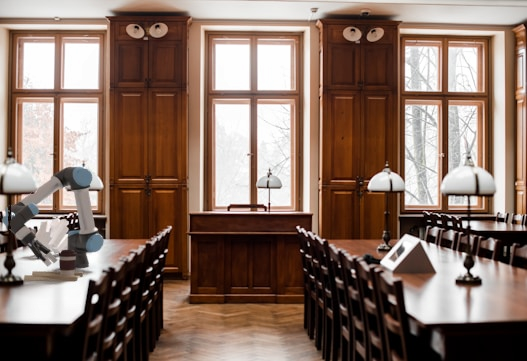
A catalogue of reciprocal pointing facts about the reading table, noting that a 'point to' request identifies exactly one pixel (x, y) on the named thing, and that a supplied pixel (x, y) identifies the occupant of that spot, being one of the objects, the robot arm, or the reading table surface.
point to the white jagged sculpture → (53, 235)
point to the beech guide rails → (52, 276)
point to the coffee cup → (67, 262)
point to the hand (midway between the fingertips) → (52, 263)
